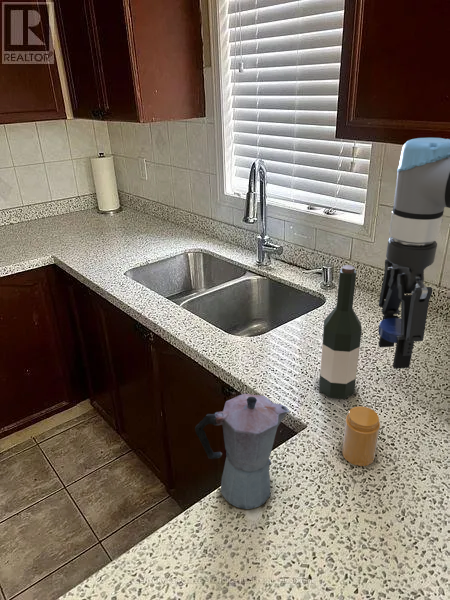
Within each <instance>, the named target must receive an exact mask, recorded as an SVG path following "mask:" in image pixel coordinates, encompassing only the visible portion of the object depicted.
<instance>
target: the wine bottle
mask: <svg viewBox="0 0 450 600" xmlns="http://www.w3.org/2000/svg"><path fill="white" fill-rule="evenodd" d="M356 280H357V269H355V266H353V265H351V264H345V265H342V266H341V268H340V269H339V277H338V286H337V295H336V297H337V298H336V305H335V307H333V309H332V311H331V312H330V313H329V314H328V315H327V316H326V317H325V319H324V320H323V331H322V340H321V341H322V342H321V354H320V367H319V378H318V379H319V380H318V390H319V392H320V393H322V394H323V395H325V396H326V397H328V398H331V399H339V400H345V399H347V398H349V397H351V396H353V395H354V394H355V389H356V379H357V372H358V365H359V364H358V363H359V355H360V348H361V341H362V333H363V328H362V322H361V320H360V319H359V317H358V315H357V313H356V312H355V310H354V307H353V306H354V297H355V289H356Z"/></svg>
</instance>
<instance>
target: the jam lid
mask: <svg viewBox="0 0 450 600" xmlns="http://www.w3.org/2000/svg"><path fill="white" fill-rule="evenodd" d="M377 331H378V335H379V337H380V336H381V337H382V338H383V339H385V340H387V341H389V342H393V343H394V344H397V336H398V335H401V317H399V318H387V319H384V320H381V321H380V322H379V325H378V330H377Z"/></svg>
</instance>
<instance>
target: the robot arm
mask: <svg viewBox="0 0 450 600" xmlns="http://www.w3.org/2000/svg"><path fill="white" fill-rule="evenodd" d="M396 169H397V170H396V172H397V174H396V181H395V182H396V183H395V191H394V199H393V206H392V211H391V215H390V222H389V231H388V235H389V236H390V237H389V238H388V239H387V246H386V254H385V258H386V259H384V273H383V277H382V283H381V288H380V295H379V299H378V307H379V308H381V314H382V315H383V316H382V320H384V319H387V318H400V319H401V335H398V336H397V343H393V342H389V341H387V340H385V339H383V338H382V337H381V336H380V335H379V341H378V347H379V348H394V347H395V352H394V357H393V363H392V367H393V370H398V369H399V370H400V369H410V366H411V361H412V355H413V350H414V345H415V342H423V341H424V338H425V332H426V323H427V319H428V318H427V317H428V310H429V305H430V301H431V297H432V294H433V287H432V286H426V285H425V283H424V281H425V270H426V269H427V268H428V267H430V266H431V265H433V264H434V262H435V259H436V253H437V247H438V243H437V240H438V239H439V237H440V236H439V235H440V231H441V225H442V224H443V222H444V219H443V216H444V213H445V208H447V209H448V208H449V209H450V138H442V137H417V138H412V139H408V140H407V141H406V142H405V143H404V144H403V146H402V147H401V153H400V159H399V164H398V167H397V168H396ZM399 308H400V309H399ZM398 315H400V317H399V316H398ZM382 320H381V321H382ZM395 344H396V345H395Z"/></svg>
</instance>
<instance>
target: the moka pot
mask: <svg viewBox="0 0 450 600" xmlns="http://www.w3.org/2000/svg"><path fill="white" fill-rule="evenodd" d="M290 412H291V411H290V410H289V408H288V407H287V406H286V405H283V404H280V403H274V402H272V400H270V398H268V397H267V396H265V395H259V394H251V393H241V394H239V395H237V396H235V397H233V398H231V399H230V398H229V399H228V400H226V401H225V403H224V407H223V410H222V411H221V410H220V411H216V412H214V413H207V414H206V415H205V416H204V417H203V418H202V420H200V421H199V422H198V423H197V424H196V425H195V427H194V430H195V435H196V436H197V438H198V439H199V442H200V443H201V446H202V447H203V449H204V452H205V454H206V455H207V458H208V459H210V460H215V459H221V458H222V456H223V452H221V451H216V452H214V451H213V449H212V447H211V444H210V441H209V439H208V436H207V434H206V431H205V429H204V428H205V427H206V426H208V425H213V426H222V434H223V441H224V449H225V456H226V457H225V462H224V466H223V472H222V474H221V475H222V476H221V480H220V481H221V482H220V494H221V495H222V497H223V498H224V500H226V501H227V502H228V503H229V505H231V506H232V507H233V506H234V507H236V508H239V509H244V510H250V509H255V508H259V507H261V506H262V505H264V504H265V503H266V501H267V500H268V499H269V497H270V496H271V477H270V466H271V465H272V460H271V459H270V457H271V454H272V451H273V446H274V443H275V439H276V436H277V430H278V427H279V426H280V424H281V423H282V421H283V419H284V418H285V416H286V415H287V414H288V413H290Z"/></svg>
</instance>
